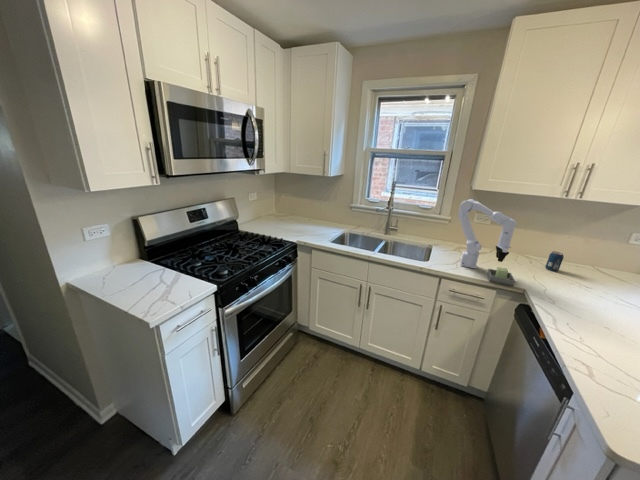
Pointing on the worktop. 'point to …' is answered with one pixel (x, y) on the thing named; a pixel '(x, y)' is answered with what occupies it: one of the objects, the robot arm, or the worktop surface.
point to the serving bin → (508, 281)
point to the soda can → (554, 261)
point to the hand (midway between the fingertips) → (499, 259)
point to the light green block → (501, 272)
